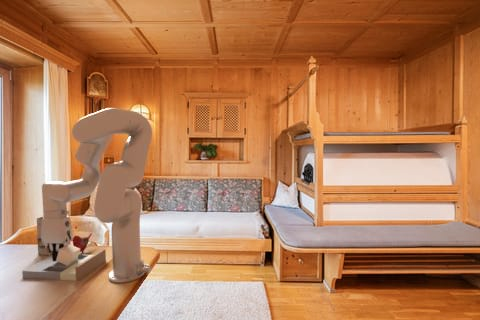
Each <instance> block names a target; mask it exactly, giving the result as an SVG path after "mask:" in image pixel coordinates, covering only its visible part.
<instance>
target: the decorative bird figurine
mask: <svg viewBox="0 0 480 320" xmlns="http://www.w3.org/2000/svg"><path fill="white" fill-rule="evenodd" d="M92 235H93V233H92V232H91V233H90V234H89V235H88V236H84V237H81V236H80V235H73V239H72V245H73V246H75V247H77V248H80V252H79V253H80V254H84V252H85V250H86V248H87V247H88V244H89V242H90V241H89V240H90V238H91V236H92Z"/></svg>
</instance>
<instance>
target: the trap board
mask: <svg viewBox="0 0 480 320" xmlns="http://www.w3.org/2000/svg"><path fill="white" fill-rule="evenodd" d="M106 256H107V255H106V249H102V250H99V251H98V252H97V253H95V254H86V253H85V254H84V253H83V254H81V253H79V255H78V259H77V261H75V262H73V263H71V264H70V265H68V266H67V265H64V264H62V263H60V262H58V261H57V262H56V261H53V258H52V255H49V257H47V258H44V259H43V260H40V261H39V262H37V263H35V264H33V265H31V266H29V267H27V268H25V269H23V270H22V278H23V279H40V280H44V279H45V280H60V281H80V280H82V279H83V278H84V277H86V276H87V275H89V274H90V273H91V272H93V271H95V270H96V269H97V268H99V267H100V266H102V265H103V264H105V262H106V261H107V260H106V259H107V257H106Z"/></svg>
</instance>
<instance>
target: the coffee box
mask: <svg viewBox="0 0 480 320" xmlns="http://www.w3.org/2000/svg"><path fill="white" fill-rule="evenodd" d="M43 218H44V217H43V216H41V217H37V218H36V231H37V232H36V237H37V254H38V255H46V256H52V251H50V248H49V247H48V246H46V245H43V242H42V239H41V224H42V219H43ZM60 245H61V244H60Z"/></svg>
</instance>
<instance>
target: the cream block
mask: <svg viewBox="0 0 480 320" xmlns="http://www.w3.org/2000/svg"><path fill="white" fill-rule="evenodd" d="M80 253H81V252H80V248H77V247H75V246H74V245H73V244H72V243H71V244H70V245H68V246H65V247H62V248H60V249H59V252H58V256H57V259H56V261H58V262H60V263H62V264H64V265H67V266H68V265H70V264H71V263H73V262H75V261H77V259H78V255H79V254H80Z"/></svg>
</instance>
